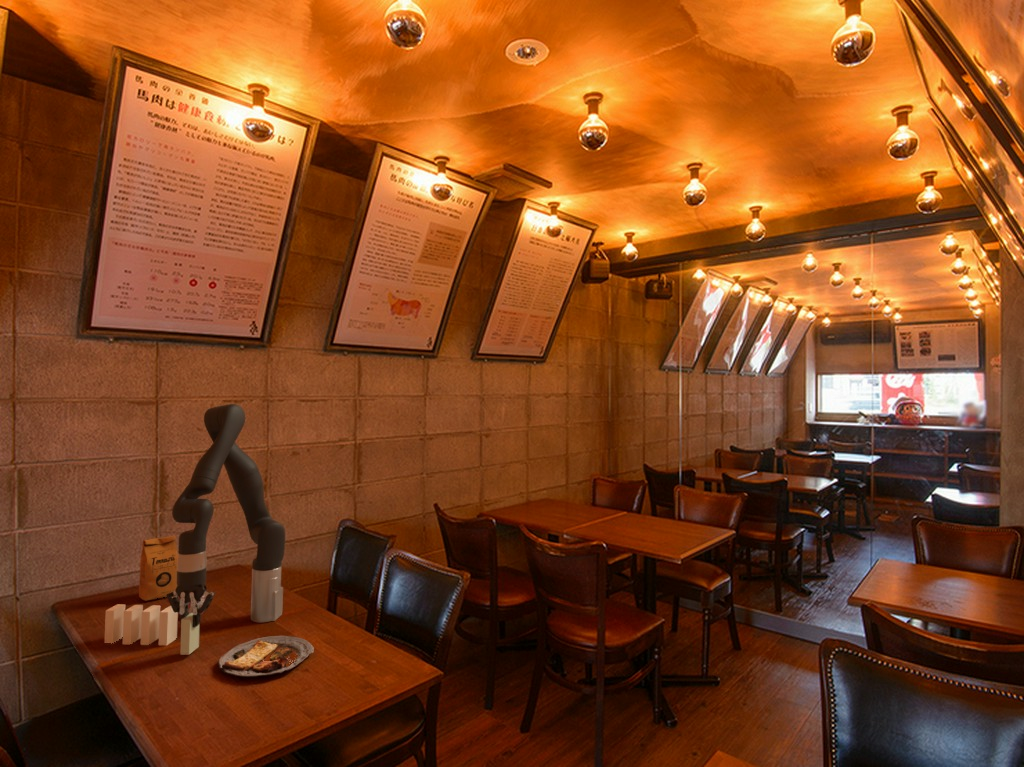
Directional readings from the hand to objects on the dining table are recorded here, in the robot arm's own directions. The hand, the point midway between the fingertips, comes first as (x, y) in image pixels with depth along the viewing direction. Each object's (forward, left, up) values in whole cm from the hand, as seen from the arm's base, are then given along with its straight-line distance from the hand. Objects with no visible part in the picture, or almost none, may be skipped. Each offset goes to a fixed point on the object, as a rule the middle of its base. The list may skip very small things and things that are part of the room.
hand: (190, 626), depth 163 cm
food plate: (-24, +2, -9) cm, 25 cm away
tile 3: (+17, -8, -8) cm, 20 cm away
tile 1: (+28, -8, -8) cm, 30 cm away
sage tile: (0, 0, -7) cm, 7 cm away
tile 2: (+22, -8, -8) cm, 25 cm away
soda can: (+15, -28, -9) cm, 33 cm away
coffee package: (+37, -44, -9) cm, 58 cm away
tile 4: (+11, -8, -8) cm, 16 cm away
